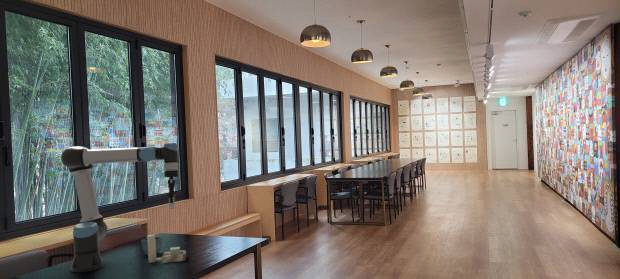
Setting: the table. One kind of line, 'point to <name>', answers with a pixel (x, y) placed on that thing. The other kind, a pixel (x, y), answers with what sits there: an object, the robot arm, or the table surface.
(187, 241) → the table surface
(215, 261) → the table surface
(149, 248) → the beige teardrop-shaped paddle
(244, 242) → the table surface
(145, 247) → the flower pot
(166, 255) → the beige u-shaped frame
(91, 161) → the robot arm
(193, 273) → the table surface
